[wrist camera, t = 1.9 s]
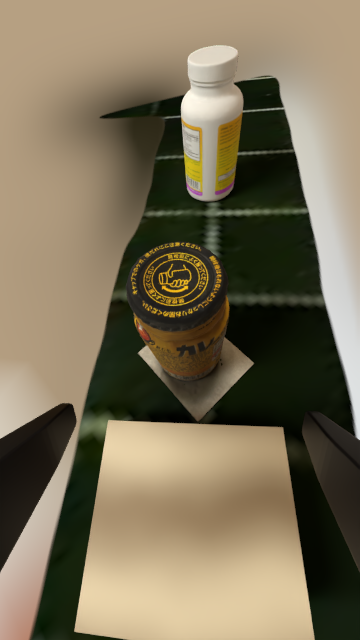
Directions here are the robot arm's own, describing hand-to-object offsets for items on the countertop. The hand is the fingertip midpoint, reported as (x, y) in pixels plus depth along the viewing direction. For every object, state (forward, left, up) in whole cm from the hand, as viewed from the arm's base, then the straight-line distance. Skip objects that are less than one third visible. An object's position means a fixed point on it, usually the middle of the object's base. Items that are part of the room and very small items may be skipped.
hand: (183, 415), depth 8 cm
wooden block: (-5, 0, -11) cm, 13 cm away
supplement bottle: (+31, -2, -12) cm, 33 cm away
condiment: (+5, 0, -12) cm, 13 cm away
